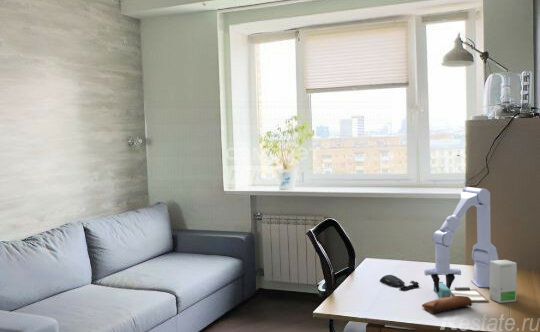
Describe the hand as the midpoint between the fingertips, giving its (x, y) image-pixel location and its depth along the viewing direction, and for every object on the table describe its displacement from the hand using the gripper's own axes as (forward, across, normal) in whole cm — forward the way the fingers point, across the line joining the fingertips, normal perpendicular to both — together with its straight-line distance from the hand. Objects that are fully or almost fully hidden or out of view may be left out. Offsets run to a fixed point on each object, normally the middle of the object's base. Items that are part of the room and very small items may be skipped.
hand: (442, 291), depth 215 cm
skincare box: (+2, +22, -6) cm, 23 cm away
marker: (+1, 0, 0) cm, 1 cm away
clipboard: (+1, +10, -2) cm, 10 cm away
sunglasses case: (+1, -3, -15) cm, 15 cm away
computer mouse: (+2, -14, +16) cm, 21 cm away
